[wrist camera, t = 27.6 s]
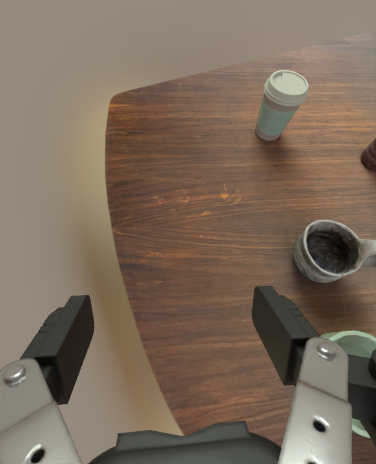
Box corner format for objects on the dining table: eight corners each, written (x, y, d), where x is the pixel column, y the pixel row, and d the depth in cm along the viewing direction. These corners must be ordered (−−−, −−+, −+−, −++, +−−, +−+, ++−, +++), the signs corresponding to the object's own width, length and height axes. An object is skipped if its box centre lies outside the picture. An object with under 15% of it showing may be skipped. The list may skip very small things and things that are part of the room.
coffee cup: (267, 114, 61) (288, 63, 50) (292, 135, 58) (320, 86, 47) (241, 128, 58) (257, 77, 47) (267, 151, 55) (290, 103, 45)
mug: (283, 233, 47) (310, 205, 38) (348, 241, 47) (391, 215, 38) (286, 283, 43) (317, 265, 34) (358, 292, 43) (408, 277, 34)
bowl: (396, 423, 35) (430, 434, 30) (314, 431, 34) (336, 444, 29) (364, 330, 40) (389, 327, 36) (292, 335, 39) (308, 333, 34)
